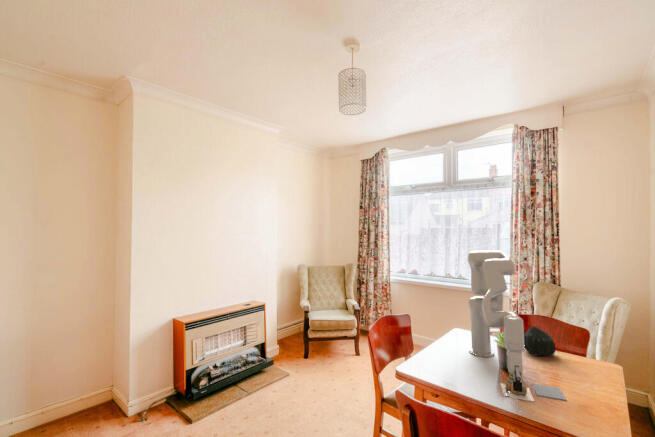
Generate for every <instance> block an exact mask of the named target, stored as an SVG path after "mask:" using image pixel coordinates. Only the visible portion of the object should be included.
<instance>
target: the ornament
mask: <svg viewBox="0 0 655 437" xmlns="http://www.w3.org/2000/svg"><path fill="white" fill-rule="evenodd" d="M514 373H516V372H514ZM515 377H516V376H515ZM513 381H514V379H513V374H510V373H509V375H508V378H507V379H505V384H506V388H507V389H508V390H511V392H512V393H514V394H516V395H526V394H527V388H528V387H527V386H526V385H525V384H524V382H523V380H522V379H521V381H522V392H518V391H514V390H513Z"/></svg>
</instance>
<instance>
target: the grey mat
mask: <svg viewBox="0 0 655 437" xmlns="http://www.w3.org/2000/svg"><path fill="white" fill-rule="evenodd" d="M531 384H532V386H533V389H534V391H535V393H536V396H537V397H543V398H548V399H554V400H560V401H565V402H566V401H568V400H567V398H566V396H565V395H564V393H563V392H562V390H561V388H560V387H558V386H557V387H556V386H553V385H552V386H551V385H546V384H539V383H538V384H537V383H531Z"/></svg>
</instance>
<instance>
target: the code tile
mask: <svg viewBox="0 0 655 437" xmlns="http://www.w3.org/2000/svg"><path fill="white" fill-rule="evenodd" d="M500 388H501V390H502V389H504V390H503V392H506V393H507V396H510V397H509V398H511V397H512V399H516V398H518V400H522V399H523V401H527V402H535V399H534V397H533V394H532V392H531V389H530V387H527V394H526V395H516V394H514V393H512V392H511V390H508V389H507V388H506V383H502V382H500ZM508 391H510V393H509V392H508ZM503 392H502V393H503ZM505 396H506V395H505ZM505 396H504V397H505Z"/></svg>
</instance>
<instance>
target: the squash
mask: <svg viewBox="0 0 655 437" xmlns="http://www.w3.org/2000/svg"><path fill="white" fill-rule="evenodd" d="M524 345H525V346H524V347H525V350H526V352H528V353H530V354H532V355H534V356H539V355H540V356H543V355H544V356H547V357H551V356H553V355H554V354H555V353H556V343H555V341H554V338H552V337H551V335H550V334H548V333H547V332H546V331H544V330H542V329H540V328H538V327H536V326H534V325H533V326H530V327H529V329H527V331H525V332H524Z"/></svg>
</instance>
